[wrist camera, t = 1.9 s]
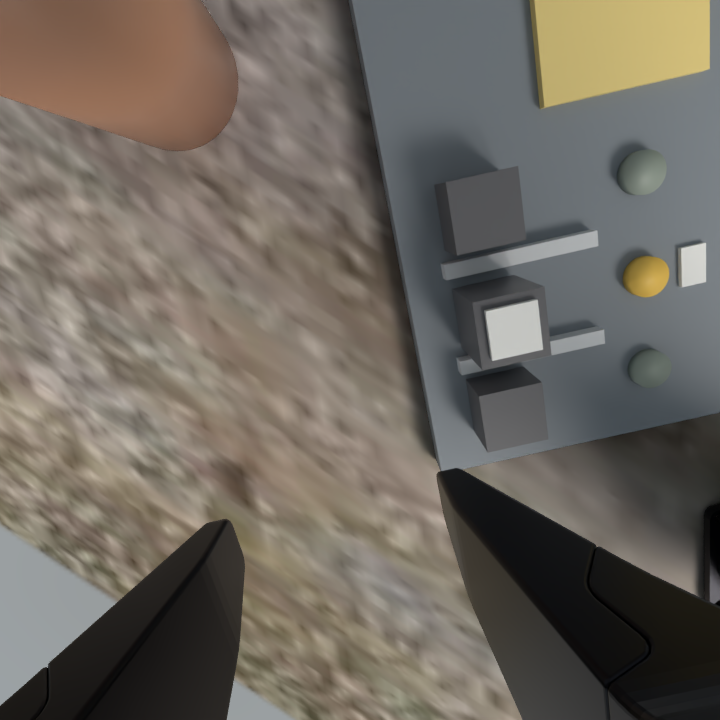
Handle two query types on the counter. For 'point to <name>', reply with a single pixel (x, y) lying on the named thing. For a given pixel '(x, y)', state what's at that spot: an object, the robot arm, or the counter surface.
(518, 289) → the block
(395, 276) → the counter surface
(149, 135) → the orange and grey cylinder
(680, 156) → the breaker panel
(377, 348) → the counter surface
